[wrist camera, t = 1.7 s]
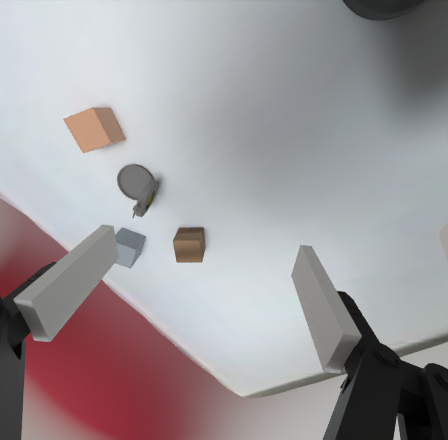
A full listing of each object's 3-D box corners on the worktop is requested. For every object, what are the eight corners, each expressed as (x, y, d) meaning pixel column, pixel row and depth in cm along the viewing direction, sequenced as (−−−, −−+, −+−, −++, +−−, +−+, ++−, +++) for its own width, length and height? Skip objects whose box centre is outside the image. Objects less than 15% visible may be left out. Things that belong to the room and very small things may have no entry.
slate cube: (122, 227, 44) (109, 240, 40) (145, 236, 45) (135, 249, 40) (118, 245, 46) (106, 259, 42) (140, 253, 47) (130, 268, 43)
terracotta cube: (85, 118, 35) (63, 119, 31) (111, 108, 34) (92, 107, 30) (101, 148, 37) (83, 153, 33) (126, 139, 36) (110, 143, 32)
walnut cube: (179, 227, 43) (172, 240, 39) (203, 227, 43) (199, 240, 39) (182, 247, 46) (176, 262, 41) (205, 247, 45) (202, 262, 41)
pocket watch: (114, 166, 38) (77, 182, 29) (159, 161, 37) (135, 176, 28) (129, 207, 42) (100, 233, 33) (170, 203, 41) (151, 228, 32)
